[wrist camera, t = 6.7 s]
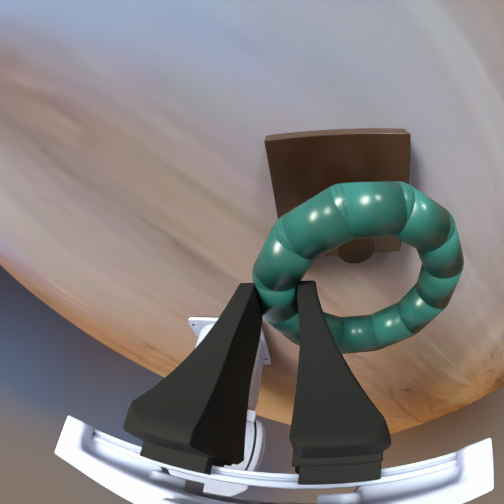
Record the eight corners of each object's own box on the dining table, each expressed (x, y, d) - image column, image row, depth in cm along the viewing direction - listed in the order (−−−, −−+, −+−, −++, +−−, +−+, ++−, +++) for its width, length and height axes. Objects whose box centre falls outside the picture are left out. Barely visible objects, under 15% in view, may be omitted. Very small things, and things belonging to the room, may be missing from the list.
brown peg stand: (396, 241, 20) (417, 300, 15) (284, 248, 22) (279, 309, 17) (404, 128, 14) (448, 164, 10) (266, 135, 16) (252, 172, 12)
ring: (424, 321, 14) (432, 348, 13) (271, 333, 16) (269, 362, 15) (468, 173, 8) (494, 197, 7) (238, 183, 10) (227, 209, 9)
